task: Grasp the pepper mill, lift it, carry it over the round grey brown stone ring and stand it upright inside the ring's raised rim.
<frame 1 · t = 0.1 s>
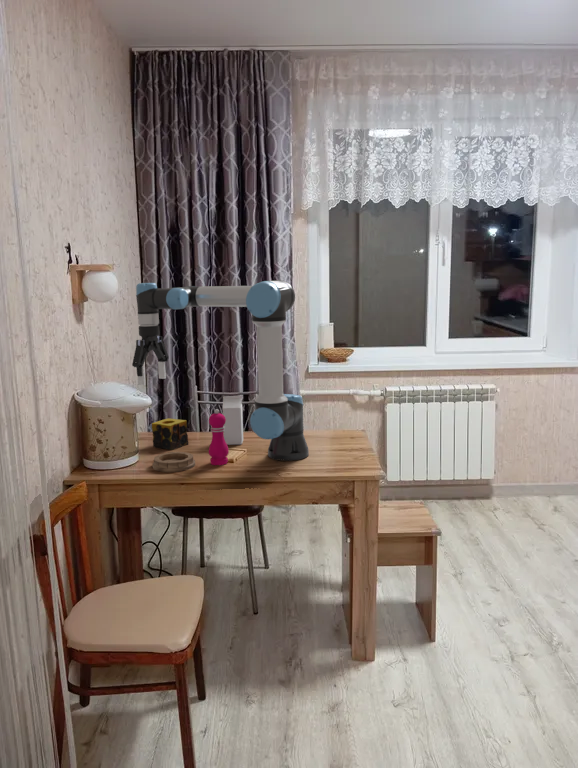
hand: (152, 381, 256), 28 cm above the table, fingers open, 13 cm apart
pepper mill: (219, 463, 246), on the table
grey brown stone ring: (174, 465, 244), on the table
milk carton: (233, 443, 274), on the table
black yellow cube: (170, 446, 271), on the table
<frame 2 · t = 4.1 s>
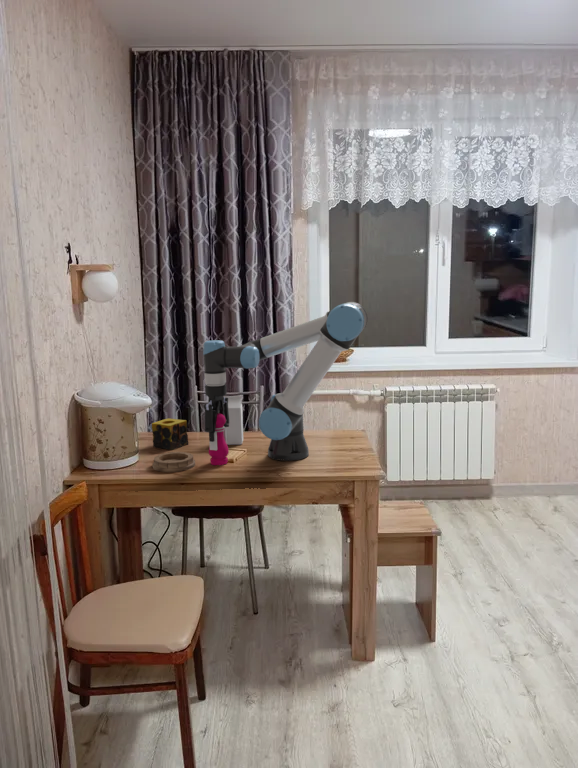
hand: (218, 447, 245), 6 cm above the table, fingers closed on pepper mill, 6 cm apart
pepper mill: (219, 463, 246), on the table, touching gripper
everything else where it was.
when the fingers open (9 cm above the table, at t = 9.7 s): pepper mill drops 1 cm, resting on grey brown stone ring.
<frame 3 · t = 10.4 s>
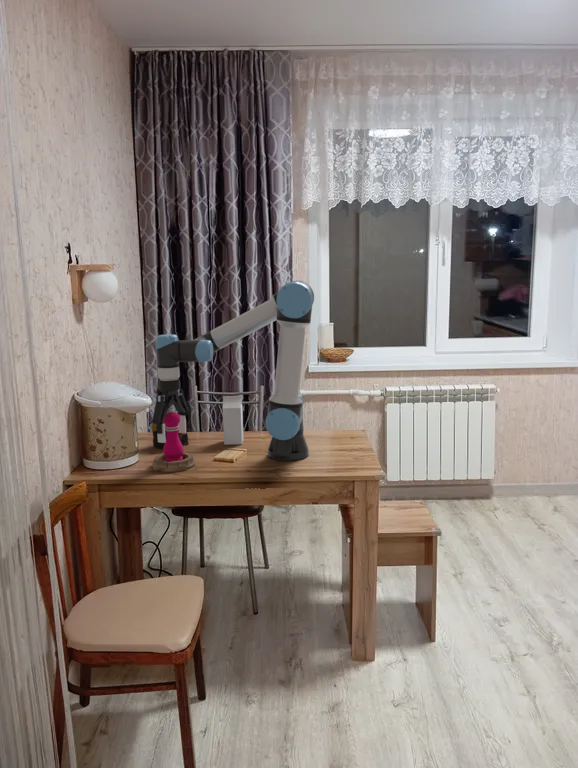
hand: (172, 437, 242), 10 cm above the table, fingers open, 13 cm apart
pepper mill: (174, 463, 244), point 1 cm above the table, touching grey brown stone ring
everything else where it was.
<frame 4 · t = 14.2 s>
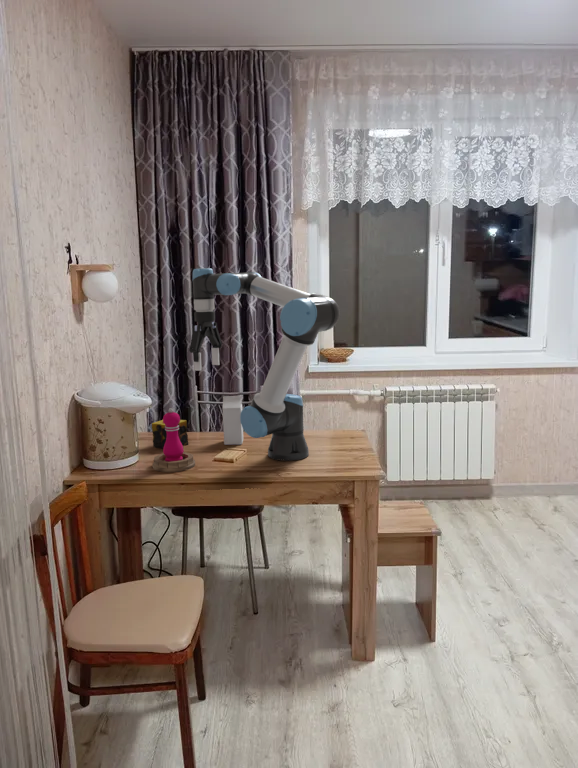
hand: (207, 367, 255), 33 cm above the table, fingers open, 13 cm apart
nothing on the table moved.
at the end: pepper mill 0.1 cm from the grey brown stone ring (horizontally); pepper mill tilted 0°; pepper mill point 1.0 cm above the table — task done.
